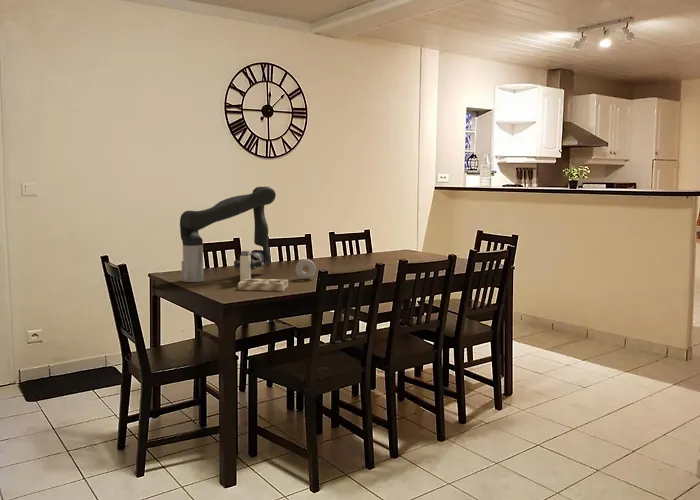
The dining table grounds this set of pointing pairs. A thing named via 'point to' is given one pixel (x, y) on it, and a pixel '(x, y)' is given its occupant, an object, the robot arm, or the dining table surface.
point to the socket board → (263, 284)
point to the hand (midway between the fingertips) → (244, 265)
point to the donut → (301, 273)
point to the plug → (245, 265)
